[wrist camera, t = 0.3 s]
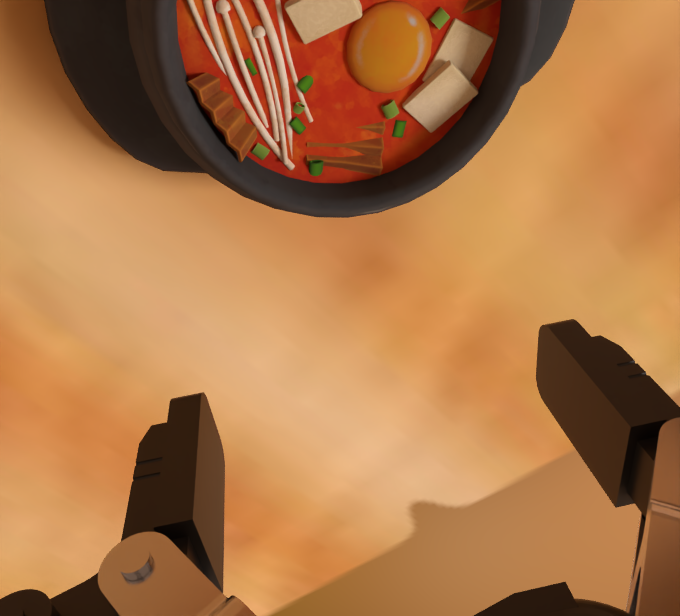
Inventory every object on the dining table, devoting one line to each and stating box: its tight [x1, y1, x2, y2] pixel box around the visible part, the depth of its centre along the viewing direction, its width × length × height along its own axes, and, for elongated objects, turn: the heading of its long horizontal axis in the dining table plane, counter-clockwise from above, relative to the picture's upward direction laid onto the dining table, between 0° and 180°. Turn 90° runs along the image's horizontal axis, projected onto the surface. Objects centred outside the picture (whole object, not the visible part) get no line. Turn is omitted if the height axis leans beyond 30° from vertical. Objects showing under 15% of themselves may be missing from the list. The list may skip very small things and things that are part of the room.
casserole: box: [44, 0, 575, 217], centre depth 26 cm, size 25×19×8 cm
